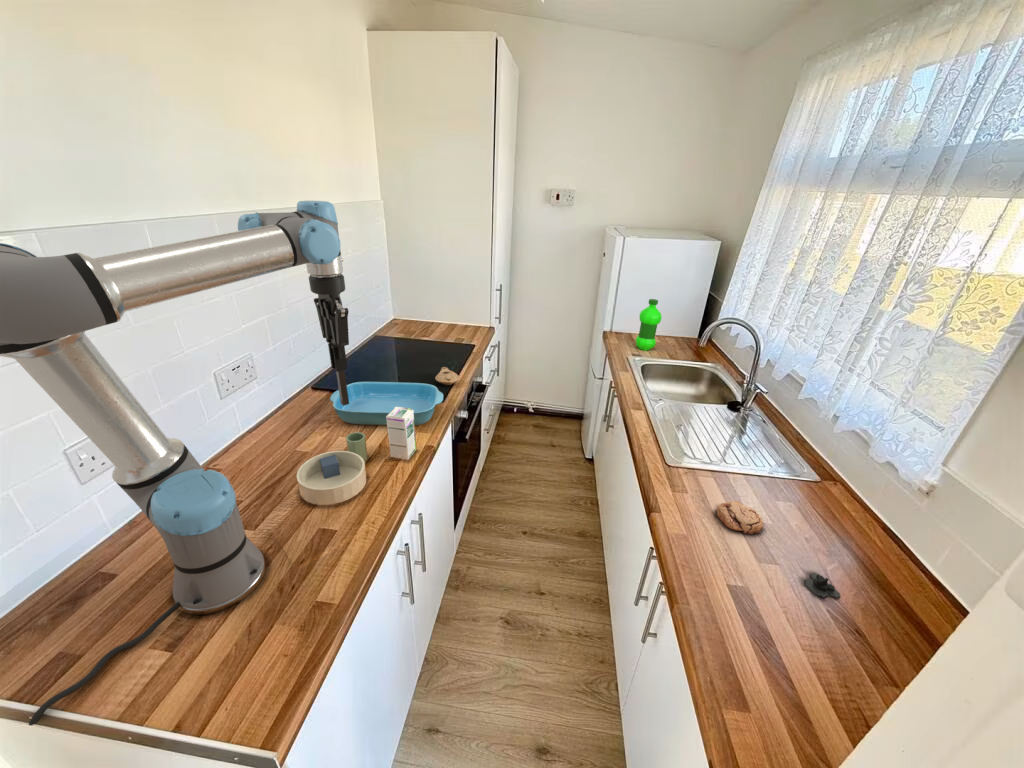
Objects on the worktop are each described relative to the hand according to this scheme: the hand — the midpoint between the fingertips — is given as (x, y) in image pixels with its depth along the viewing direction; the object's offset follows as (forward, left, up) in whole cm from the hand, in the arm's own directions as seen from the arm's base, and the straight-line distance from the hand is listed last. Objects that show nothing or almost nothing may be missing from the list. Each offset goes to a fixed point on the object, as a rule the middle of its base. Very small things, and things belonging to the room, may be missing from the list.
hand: (339, 368), depth 108 cm
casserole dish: (+23, +18, -30) cm, 42 cm away
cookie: (+60, -85, -30) cm, 108 cm away
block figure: (+52, -104, -30) cm, 120 cm away
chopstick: (0, 0, -10) cm, 10 cm away
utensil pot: (+2, 0, -30) cm, 30 cm away
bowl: (-8, -6, -30) cm, 31 cm away
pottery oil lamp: (+53, +26, -30) cm, 66 cm away
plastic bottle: (+153, -7, -30) cm, 156 cm away
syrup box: (+13, -6, -30) cm, 33 cm away
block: (-7, -1, -29) cm, 30 cm away
